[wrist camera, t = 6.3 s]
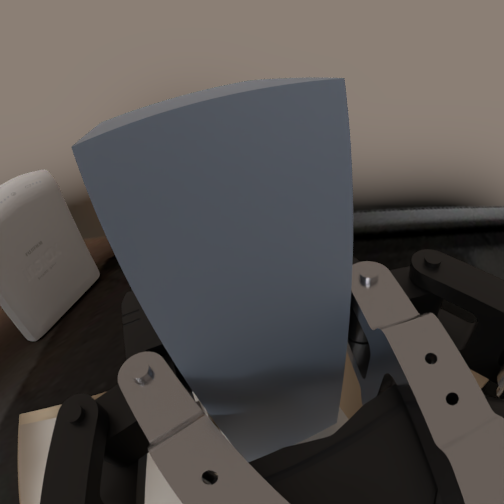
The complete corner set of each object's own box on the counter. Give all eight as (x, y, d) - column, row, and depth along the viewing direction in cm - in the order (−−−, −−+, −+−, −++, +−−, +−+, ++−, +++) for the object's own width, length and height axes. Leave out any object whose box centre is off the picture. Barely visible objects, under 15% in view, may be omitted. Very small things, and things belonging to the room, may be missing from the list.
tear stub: (254, 500, 9) (-7, 201, 2) (202, 380, 14) (90, 125, 7) (363, 447, 10) (440, 85, 3) (290, 343, 16) (246, 79, 8)
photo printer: (36, 350, 19) (-47, 223, 12) (19, 334, 21) (-50, 221, 14) (109, 275, 26) (56, 154, 19) (86, 268, 28) (37, 160, 21)
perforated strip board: (39, 555, 5) (15, 549, 4) (29, 421, 13) (11, 407, 12) (484, 385, 11) (499, 365, 10) (380, 287, 19) (383, 265, 18)
